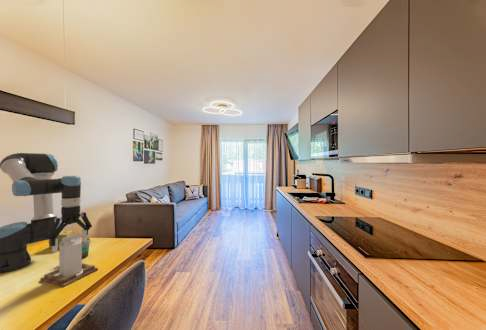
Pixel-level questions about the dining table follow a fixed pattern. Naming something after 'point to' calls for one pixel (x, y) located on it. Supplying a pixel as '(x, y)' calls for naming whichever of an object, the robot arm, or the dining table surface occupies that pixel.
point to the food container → (85, 248)
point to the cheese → (62, 235)
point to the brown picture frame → (61, 281)
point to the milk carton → (70, 255)
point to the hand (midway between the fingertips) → (70, 246)
